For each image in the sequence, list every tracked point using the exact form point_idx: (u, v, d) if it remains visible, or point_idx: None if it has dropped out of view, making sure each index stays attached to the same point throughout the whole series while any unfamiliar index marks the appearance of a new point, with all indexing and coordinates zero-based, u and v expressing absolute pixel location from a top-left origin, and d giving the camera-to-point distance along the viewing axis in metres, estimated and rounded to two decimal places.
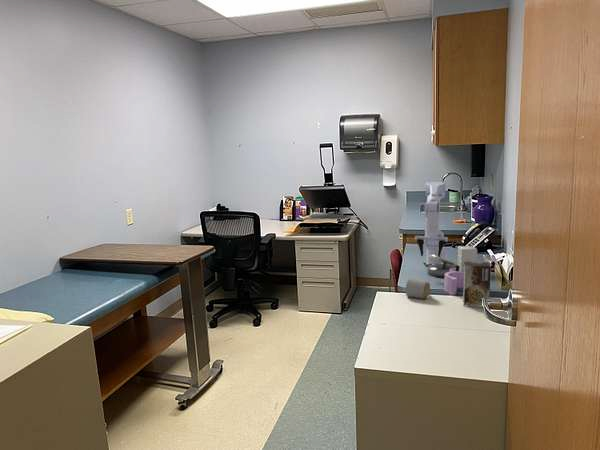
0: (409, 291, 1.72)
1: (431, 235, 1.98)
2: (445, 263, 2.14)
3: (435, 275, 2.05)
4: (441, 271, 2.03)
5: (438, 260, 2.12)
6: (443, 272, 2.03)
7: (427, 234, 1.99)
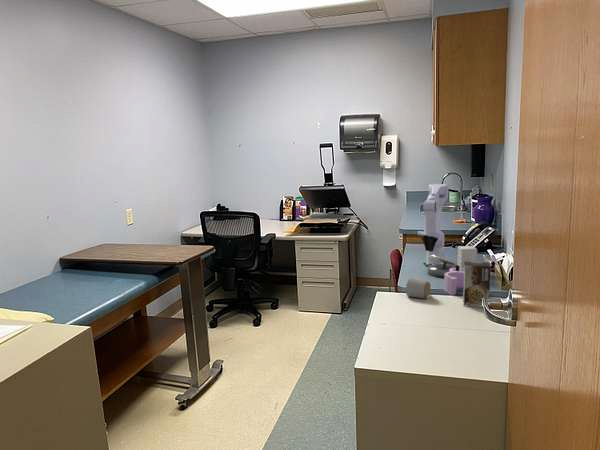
0: (409, 291, 1.73)
1: (426, 232, 2.13)
2: (445, 263, 2.14)
3: (435, 275, 2.05)
4: (441, 271, 2.03)
5: (438, 260, 2.12)
6: (443, 272, 2.03)
7: (424, 231, 2.15)
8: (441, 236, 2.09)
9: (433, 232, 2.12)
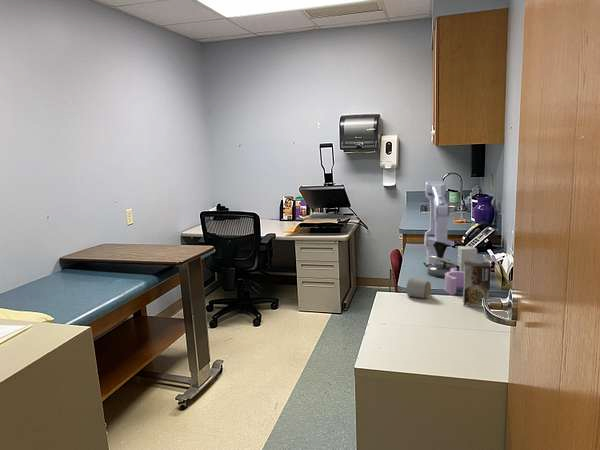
0: (410, 290, 1.73)
1: (437, 238, 2.04)
2: (445, 263, 2.14)
3: (435, 275, 2.05)
4: (441, 271, 2.03)
5: (438, 260, 2.12)
6: (443, 272, 2.03)
7: (435, 237, 2.06)
8: (453, 243, 2.00)
9: (444, 238, 2.04)
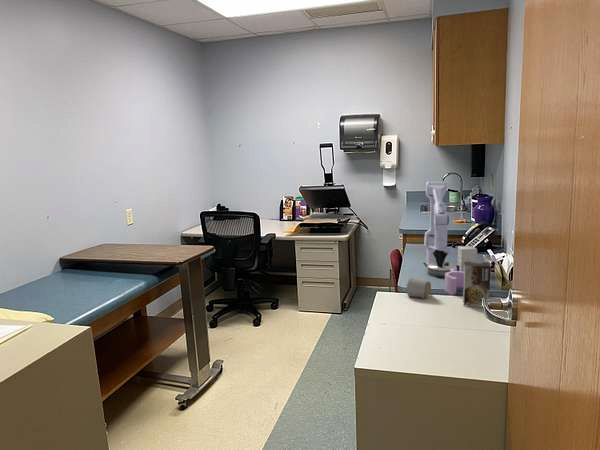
0: (410, 290, 1.73)
1: (437, 247, 2.05)
2: None
3: (435, 275, 2.05)
4: (441, 271, 2.03)
5: None
6: (443, 272, 2.03)
7: (434, 245, 2.07)
8: (452, 251, 2.01)
9: (444, 247, 2.04)
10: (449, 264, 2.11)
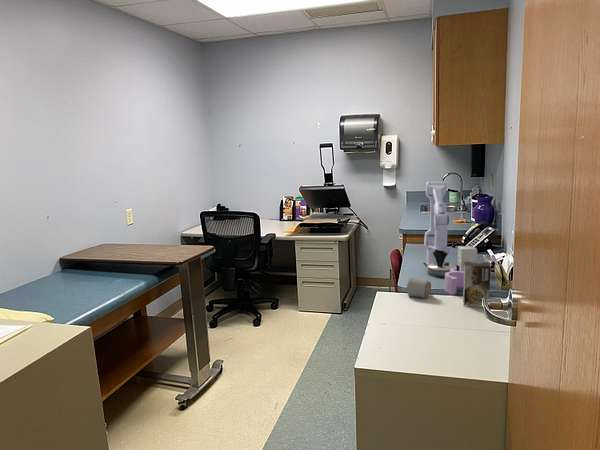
0: (410, 290, 1.73)
1: (437, 247, 2.05)
2: None
3: (435, 275, 2.05)
4: (441, 271, 2.03)
5: None
6: (443, 272, 2.03)
7: (434, 245, 2.07)
8: (452, 251, 2.01)
9: (444, 247, 2.04)
10: (449, 264, 2.11)
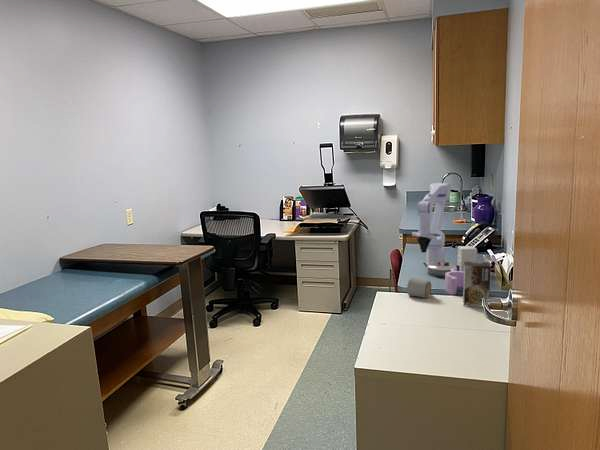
0: (410, 290, 1.74)
1: (420, 233, 2.13)
2: None
3: (435, 275, 2.05)
4: (441, 271, 2.03)
5: None
6: (443, 272, 2.03)
7: (418, 232, 2.14)
8: (435, 237, 2.09)
9: (427, 233, 2.12)
10: (449, 264, 2.11)
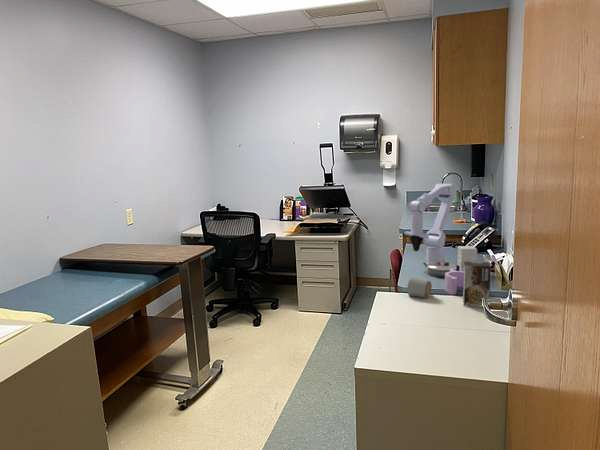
0: (411, 290, 1.74)
1: (413, 232, 2.17)
2: None
3: (435, 275, 2.05)
4: (441, 271, 2.03)
5: None
6: (443, 272, 2.03)
7: (411, 231, 2.18)
8: (427, 236, 2.13)
9: (420, 232, 2.16)
10: (449, 264, 2.11)
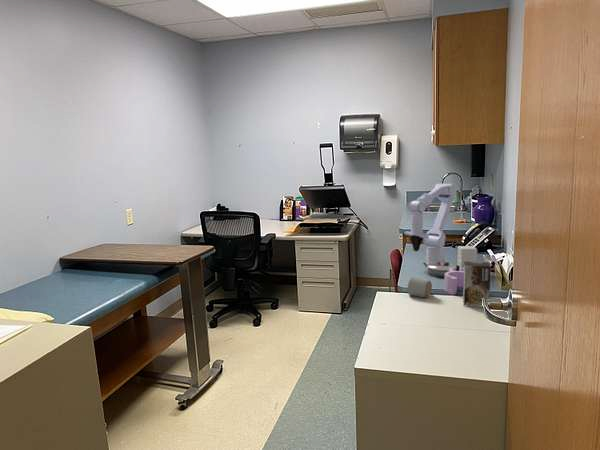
0: (411, 290, 1.74)
1: (413, 232, 2.17)
2: None
3: (435, 275, 2.05)
4: (441, 271, 2.03)
5: None
6: (443, 272, 2.03)
7: (411, 231, 2.18)
8: (427, 236, 2.13)
9: (420, 232, 2.16)
10: (449, 264, 2.11)
